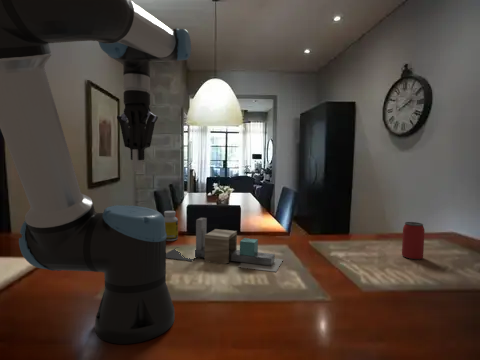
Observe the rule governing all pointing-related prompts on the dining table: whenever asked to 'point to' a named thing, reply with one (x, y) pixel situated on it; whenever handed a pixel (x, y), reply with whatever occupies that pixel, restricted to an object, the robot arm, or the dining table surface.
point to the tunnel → (219, 245)
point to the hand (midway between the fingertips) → (137, 171)
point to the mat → (263, 266)
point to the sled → (245, 254)
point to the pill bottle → (171, 225)
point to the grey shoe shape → (176, 255)
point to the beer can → (413, 240)
